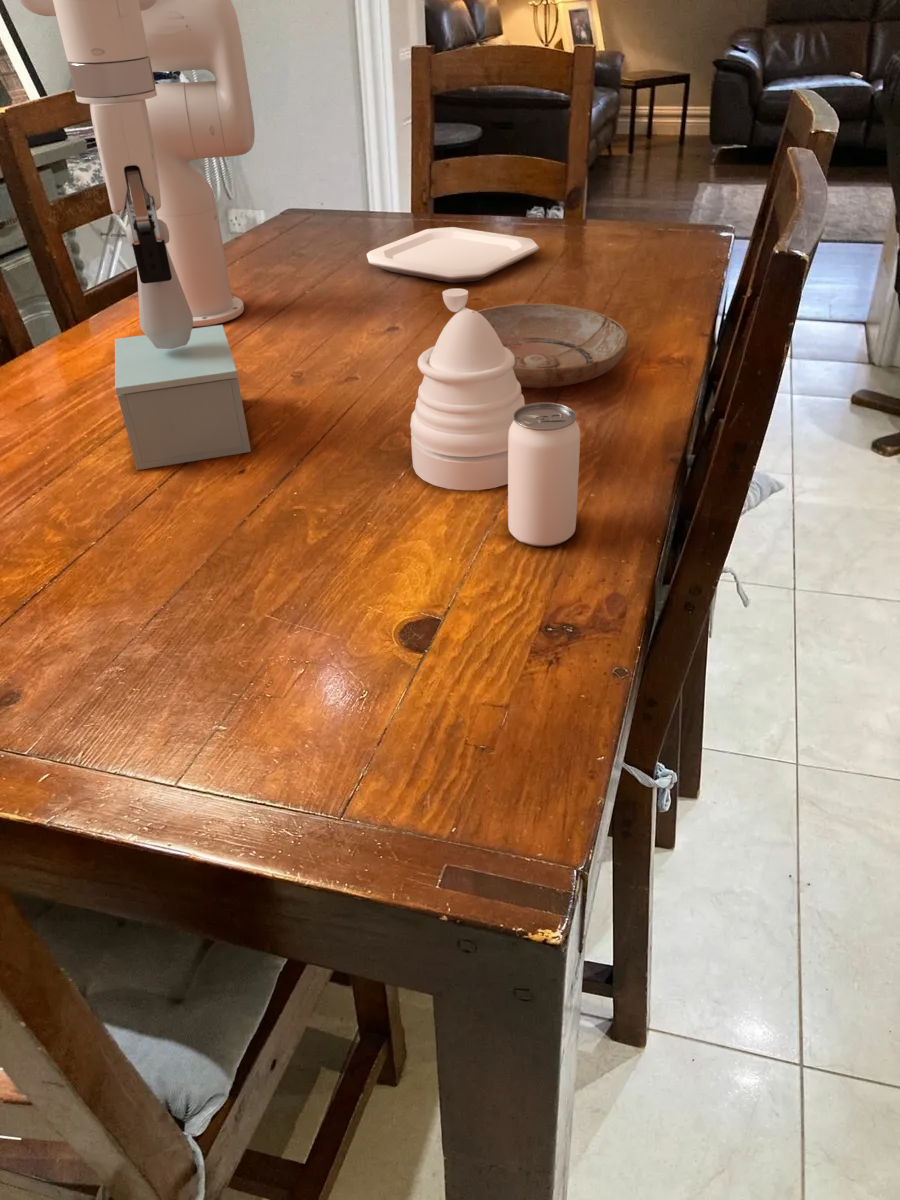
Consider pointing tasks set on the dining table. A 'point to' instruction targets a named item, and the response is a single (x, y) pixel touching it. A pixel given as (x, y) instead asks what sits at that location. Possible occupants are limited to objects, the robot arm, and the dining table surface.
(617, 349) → the ceramic bowl
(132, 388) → the lid
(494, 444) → the honey pot
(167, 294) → the salt shaker
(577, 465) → the can
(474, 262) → the plate
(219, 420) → the chest
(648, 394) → the dining table surface
